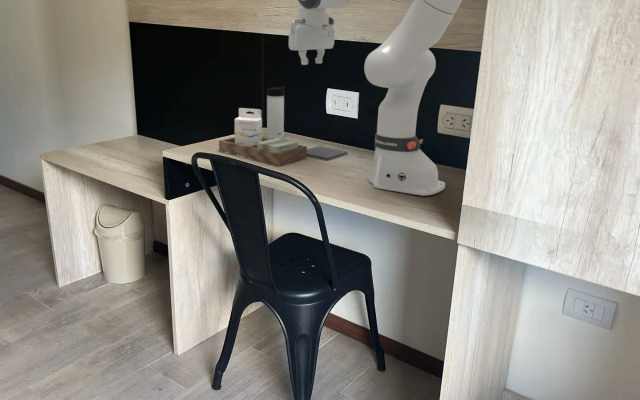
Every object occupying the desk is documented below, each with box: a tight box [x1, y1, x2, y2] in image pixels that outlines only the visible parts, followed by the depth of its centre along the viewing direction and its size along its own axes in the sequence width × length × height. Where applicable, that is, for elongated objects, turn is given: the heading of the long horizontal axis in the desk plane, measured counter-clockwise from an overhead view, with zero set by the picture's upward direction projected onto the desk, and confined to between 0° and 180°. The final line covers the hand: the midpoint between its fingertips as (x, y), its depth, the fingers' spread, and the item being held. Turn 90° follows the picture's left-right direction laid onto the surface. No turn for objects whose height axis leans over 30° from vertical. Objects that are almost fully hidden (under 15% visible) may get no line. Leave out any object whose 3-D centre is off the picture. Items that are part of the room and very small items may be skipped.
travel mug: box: [266, 86, 286, 139], centre depth 208 cm, size 6×7×20 cm
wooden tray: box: [218, 136, 308, 167], centre depth 188 cm, size 27×14×4 cm, turn 53°
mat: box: [307, 145, 348, 162], centre depth 192 cm, size 12×12×1 cm
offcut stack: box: [257, 138, 299, 153], centre depth 183 cm, size 10×11×6 cm
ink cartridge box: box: [234, 107, 263, 146], centre depth 190 cm, size 9×5×15 cm, turn 81°
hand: (311, 64), depth 182 cm, fingers open, 6 cm apart
